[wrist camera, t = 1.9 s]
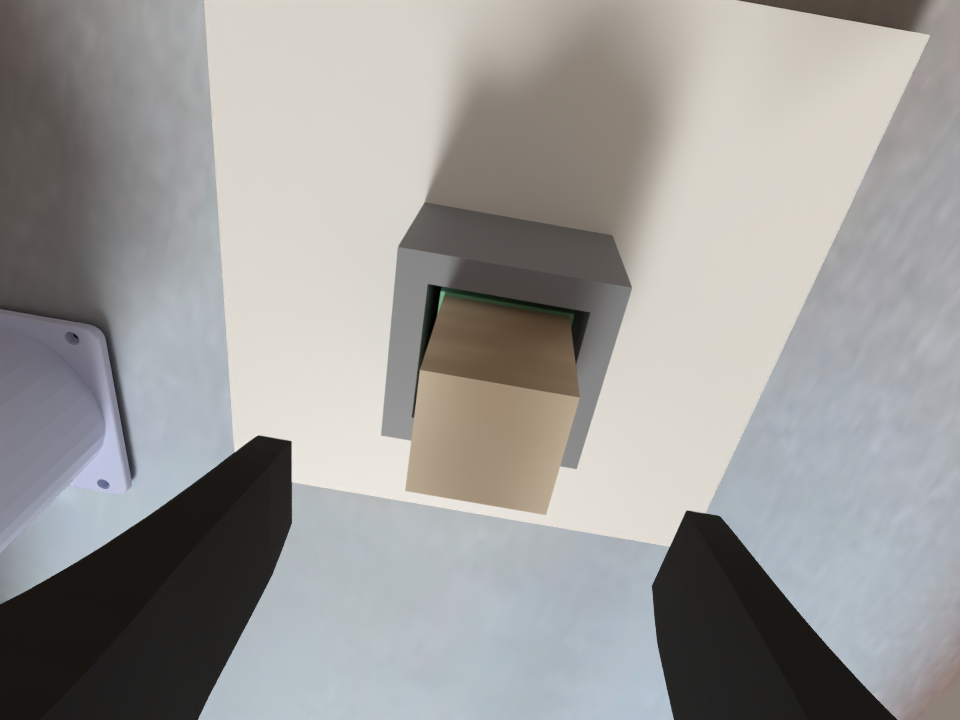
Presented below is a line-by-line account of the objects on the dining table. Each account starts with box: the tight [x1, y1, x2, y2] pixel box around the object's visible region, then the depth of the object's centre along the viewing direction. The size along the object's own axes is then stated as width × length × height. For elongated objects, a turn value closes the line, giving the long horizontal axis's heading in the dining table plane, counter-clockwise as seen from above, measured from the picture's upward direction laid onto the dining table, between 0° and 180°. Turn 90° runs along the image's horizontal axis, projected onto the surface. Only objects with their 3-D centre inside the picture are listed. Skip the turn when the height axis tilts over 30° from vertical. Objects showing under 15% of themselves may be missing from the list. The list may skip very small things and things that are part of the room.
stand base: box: [204, 0, 930, 547], centre depth 18 cm, size 18×18×5 cm
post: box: [405, 287, 580, 515], centre depth 16 cm, size 3×3×7 cm
